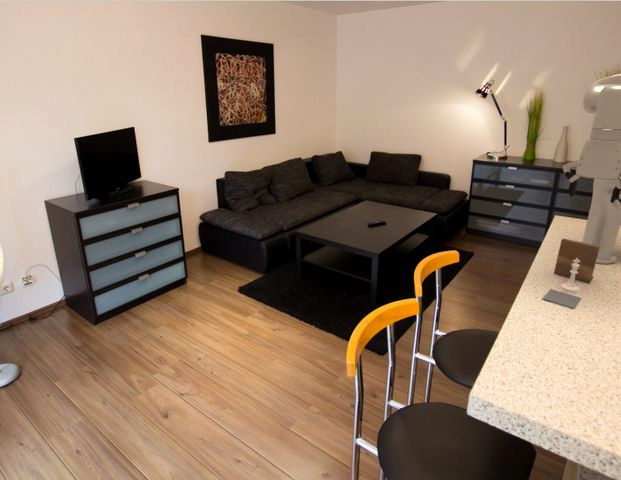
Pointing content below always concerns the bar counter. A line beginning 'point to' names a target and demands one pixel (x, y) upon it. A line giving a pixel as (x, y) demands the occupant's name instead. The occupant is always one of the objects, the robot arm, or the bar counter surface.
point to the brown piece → (571, 252)
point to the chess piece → (572, 279)
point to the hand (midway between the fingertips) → (591, 198)
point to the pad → (562, 299)
